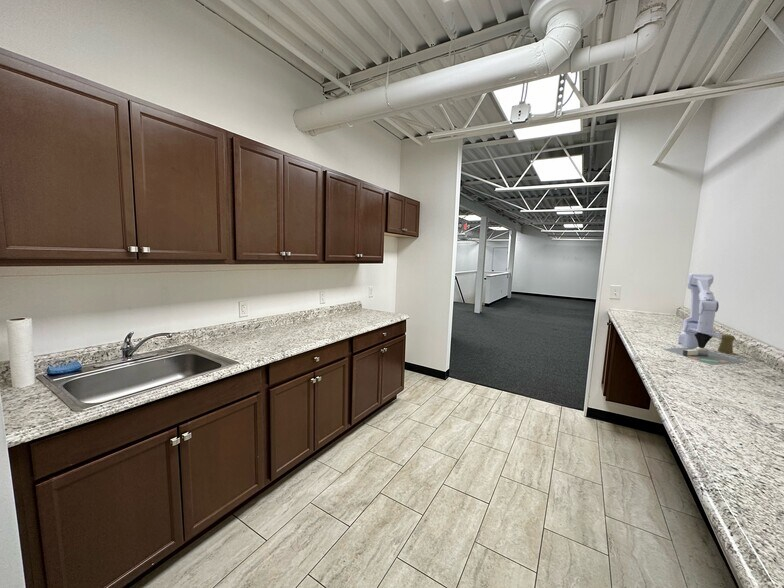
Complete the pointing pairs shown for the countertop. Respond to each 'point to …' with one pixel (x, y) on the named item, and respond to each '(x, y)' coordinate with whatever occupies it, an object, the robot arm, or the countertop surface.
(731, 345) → the cork
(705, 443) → the countertop surface
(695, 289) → the robot arm
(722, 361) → the board
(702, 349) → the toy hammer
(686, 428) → the countertop surface
